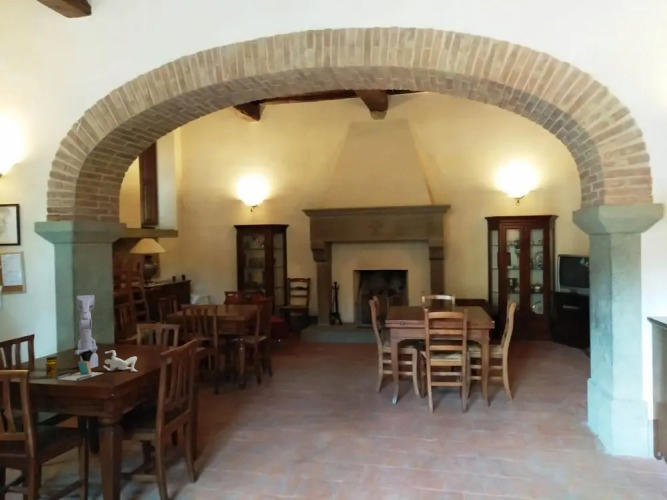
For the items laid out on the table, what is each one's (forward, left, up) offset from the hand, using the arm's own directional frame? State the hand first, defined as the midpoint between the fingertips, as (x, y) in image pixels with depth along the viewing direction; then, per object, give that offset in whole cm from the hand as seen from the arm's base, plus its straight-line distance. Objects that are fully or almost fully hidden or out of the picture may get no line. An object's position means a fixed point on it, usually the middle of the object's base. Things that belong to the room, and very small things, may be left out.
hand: (86, 364), depth 297 cm
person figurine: (-11, +14, -6) cm, 19 cm away
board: (+6, +1, -6) cm, 8 cm away
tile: (+1, 0, -5) cm, 5 cm away
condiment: (+11, -13, -6) cm, 18 cm away
